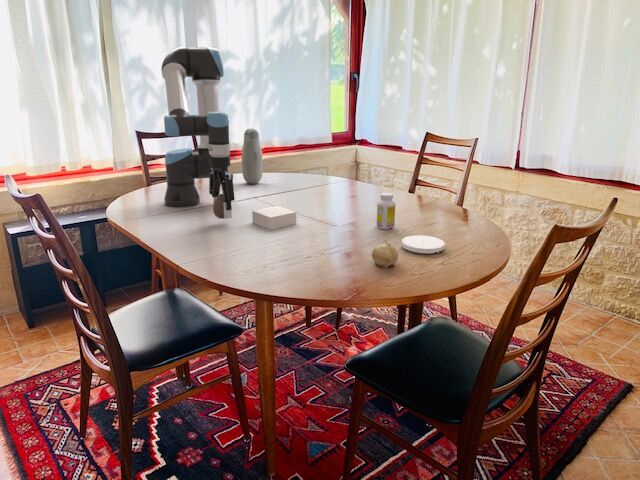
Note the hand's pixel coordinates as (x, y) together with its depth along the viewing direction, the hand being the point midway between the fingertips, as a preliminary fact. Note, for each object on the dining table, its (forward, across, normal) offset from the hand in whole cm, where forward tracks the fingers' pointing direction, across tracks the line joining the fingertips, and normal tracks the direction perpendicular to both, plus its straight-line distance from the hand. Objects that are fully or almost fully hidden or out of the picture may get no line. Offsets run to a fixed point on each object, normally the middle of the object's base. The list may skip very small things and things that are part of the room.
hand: (222, 215), depth 192 cm
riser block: (+4, +12, +16) cm, 20 cm away
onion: (+2, +68, +16) cm, 70 cm away
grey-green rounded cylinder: (+5, -54, +50) cm, 74 cm away
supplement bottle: (+3, +42, +45) cm, 62 cm away
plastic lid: (+3, +66, +37) cm, 76 cm away
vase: (+1, 0, 0) cm, 1 cm away
